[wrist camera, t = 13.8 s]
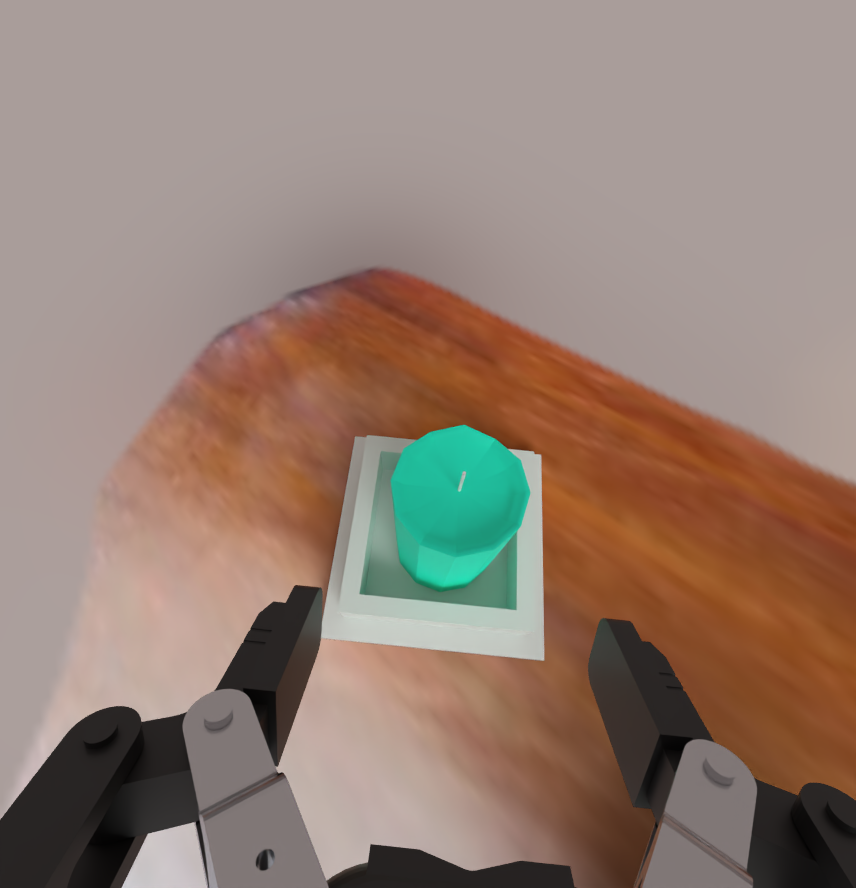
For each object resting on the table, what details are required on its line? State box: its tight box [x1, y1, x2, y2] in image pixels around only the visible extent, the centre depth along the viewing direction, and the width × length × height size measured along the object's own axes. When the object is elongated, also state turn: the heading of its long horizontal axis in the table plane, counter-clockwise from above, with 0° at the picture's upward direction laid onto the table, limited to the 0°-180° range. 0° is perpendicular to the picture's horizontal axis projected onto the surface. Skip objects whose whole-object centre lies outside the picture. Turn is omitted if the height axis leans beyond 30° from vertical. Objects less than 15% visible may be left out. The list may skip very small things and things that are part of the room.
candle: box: [391, 425, 531, 592], centre depth 24 cm, size 6×6×12 cm
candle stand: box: [321, 435, 544, 661], centre depth 28 cm, size 13×13×4 cm
